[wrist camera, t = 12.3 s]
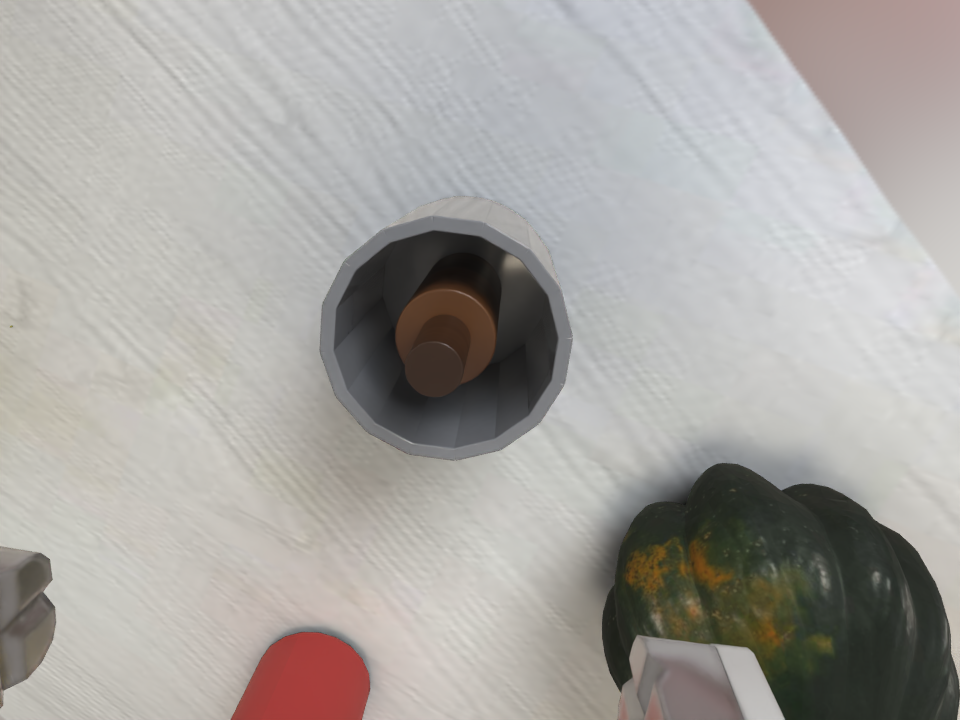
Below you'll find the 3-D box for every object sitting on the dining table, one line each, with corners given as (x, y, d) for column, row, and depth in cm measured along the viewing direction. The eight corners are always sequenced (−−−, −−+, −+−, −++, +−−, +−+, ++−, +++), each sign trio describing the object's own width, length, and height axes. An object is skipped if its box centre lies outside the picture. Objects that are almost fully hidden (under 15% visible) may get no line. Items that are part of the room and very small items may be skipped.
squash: (885, 388, 28) (772, 734, 19) (1039, 629, 31) (1000, 1007, 23) (626, 432, 39) (484, 662, 31) (761, 605, 43) (667, 853, 34)
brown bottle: (429, 247, 32) (379, 304, 20) (506, 257, 32) (500, 320, 20) (421, 322, 33) (370, 416, 21) (496, 332, 33) (485, 432, 21)
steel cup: (384, 184, 32) (327, 201, 22) (568, 209, 32) (590, 235, 22) (370, 360, 34) (314, 442, 25) (540, 382, 34) (549, 474, 25)
